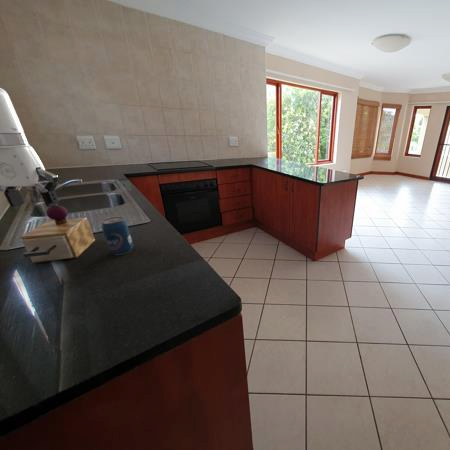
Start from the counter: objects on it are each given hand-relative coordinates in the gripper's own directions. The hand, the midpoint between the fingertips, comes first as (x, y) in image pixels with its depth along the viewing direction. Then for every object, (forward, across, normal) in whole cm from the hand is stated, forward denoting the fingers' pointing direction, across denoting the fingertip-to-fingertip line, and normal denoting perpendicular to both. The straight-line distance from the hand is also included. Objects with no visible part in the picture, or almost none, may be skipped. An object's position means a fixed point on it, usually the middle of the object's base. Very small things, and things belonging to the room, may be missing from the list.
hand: (35, 205), depth 67 cm
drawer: (+20, -7, +7) cm, 22 cm away
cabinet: (+21, -8, +11) cm, 25 cm away
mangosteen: (+11, -9, +14) cm, 20 cm away
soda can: (+21, +12, +10) cm, 26 cm away
